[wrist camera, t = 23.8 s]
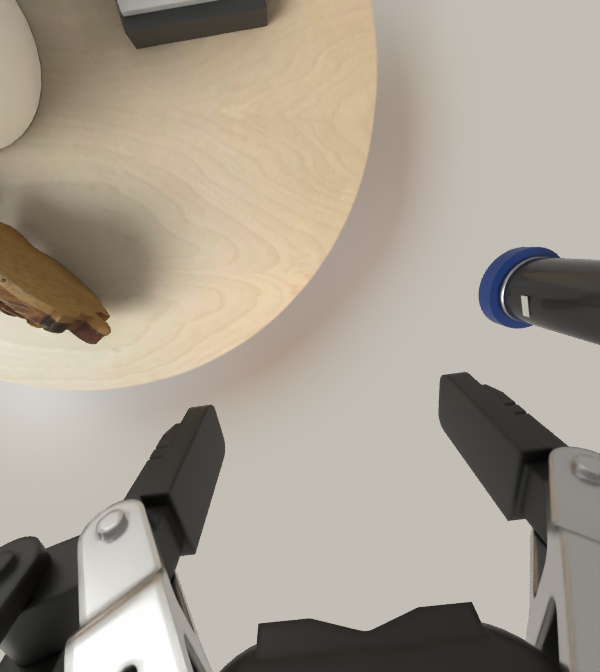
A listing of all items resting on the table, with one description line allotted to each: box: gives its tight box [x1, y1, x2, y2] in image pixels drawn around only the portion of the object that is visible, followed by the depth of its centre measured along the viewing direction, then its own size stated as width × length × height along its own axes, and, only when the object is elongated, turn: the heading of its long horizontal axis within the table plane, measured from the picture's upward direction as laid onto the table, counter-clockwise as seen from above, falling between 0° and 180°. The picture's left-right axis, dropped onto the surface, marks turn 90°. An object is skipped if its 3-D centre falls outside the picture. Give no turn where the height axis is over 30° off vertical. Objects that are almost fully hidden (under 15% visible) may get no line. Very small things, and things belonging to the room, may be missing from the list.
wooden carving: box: [0, 222, 111, 344], centre depth 29 cm, size 16×5×10 cm, turn 46°
